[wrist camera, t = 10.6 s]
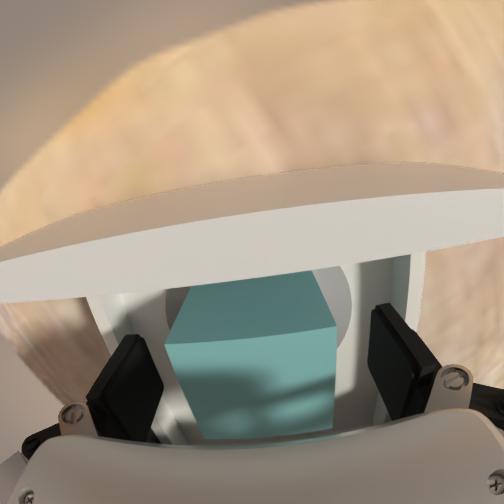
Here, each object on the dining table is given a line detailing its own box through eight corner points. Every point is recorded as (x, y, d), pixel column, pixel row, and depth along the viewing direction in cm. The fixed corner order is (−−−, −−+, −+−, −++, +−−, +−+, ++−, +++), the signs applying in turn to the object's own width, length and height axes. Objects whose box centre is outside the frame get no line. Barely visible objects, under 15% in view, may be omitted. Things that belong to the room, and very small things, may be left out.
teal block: (308, 263, 12) (337, 326, 8) (313, 353, 14) (332, 428, 9) (195, 277, 13) (164, 344, 8) (217, 363, 14) (204, 439, 9)
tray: (417, 161, 12) (565, 187, 4) (394, 407, 18) (432, 498, 9) (75, 213, 13) (-56, 277, 5) (165, 432, 19) (140, 525, 10)
